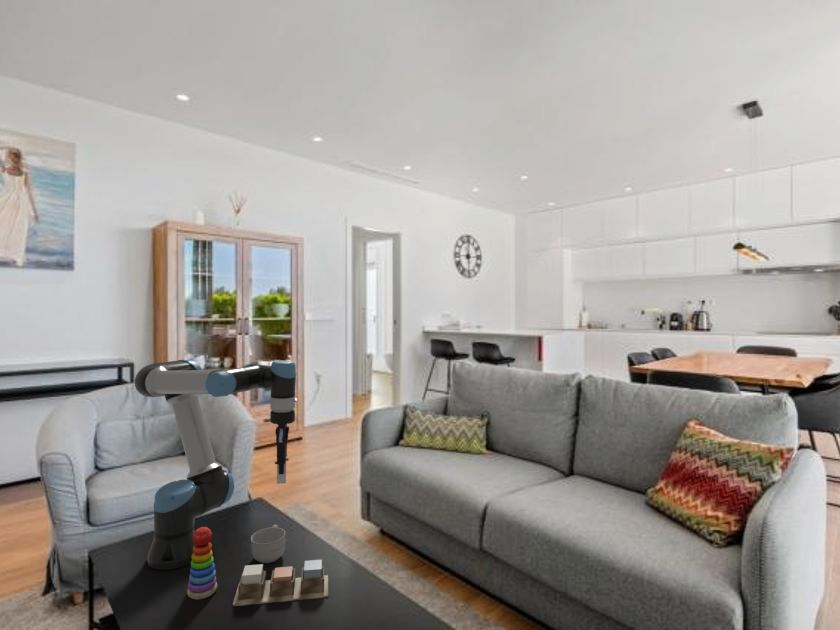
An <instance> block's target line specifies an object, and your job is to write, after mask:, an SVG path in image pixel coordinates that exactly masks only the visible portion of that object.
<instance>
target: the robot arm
mask: <svg viewBox="0 0 840 630" xmlns="http://www.w3.org/2000/svg"><path fill="white" fill-rule="evenodd" d="M296 380H297V371H296V363H295V361H293V360H285V359H283V360H274V361H272V362H271V365H265V364H259V363H246V364H245V365H244V366H242V367H238V368H230V369H203V368H202V366H201V365H200V364H199V363H198V362H196V361H194V360H192V359H179V360H178V359H176V360H172V361H165V362H154V363H150V364H148V365H145V366H144V367H142V368H140V369H139V371H138V372H137V373H136V375H135V377H134V387H135V389H136V391H137V393H139V394H140V395H142V396H144V397H146V398H159V397H164V399H165V401H166V403H167V404H170V405H171V406H172V410H173V414H174V416H175V420H176V424H177V429H178V432H179V437H180V439H181V443H182V446H183V450H184V453H185V458H186V461H187V466H188V469H189V471H188V474H187V475H186V479H178V480H174V481H171V482H169V483H166V484H164V485H162V486H161V487H160V488H159V489H158V490H157V491H156V492H155V495H154V502H153V511H154V513H153V516H154V517H153V518H154V519H153V539H152V542H151V545H150V547H149V551H148V552H147V553H148V554H147V565H148V566H149V568H151V569H154V570H158V571H159V570H161V571H167V570H174V569H178V568H181V567H184V566H186V565H189V564H191V561H192V554H193V553H194V552H193V547H194V546H195V545H196V544H195V543H194V542H193V534H194V532H195V531H196V530H195V519H196V518H198V517H200V516H202V515H205V514H206V513H209V512H211V511H212V510H214V509H217V508H221V507H222V505H225V504H226V503H228V502H229V501H230V500H231V498H232V496H233V494H234V492H235V481H234V477H233V475H232V473H230V471H228V470H227V469H223V466H222V464H221V463H219V462H217V461H216V458H215V454H214V450H213V447H212V444H211V440H210V439H211V438H210V437H209V432H208V429H207V425H206V422H205V418H204V414H203V411H202V406H201V404H200V400H199V397H200V395H211V397H214V398H221V397H227V396H230V395H233V394H234V395H235V394H238V393H243V392H248V391H252V390H253V391H254V390H257V389H263V390H268V391H269V390H270V397H269V399H270V400H269V401H270V402H269V403H270V404H269V406H270V411H269V412H270V414H269V416H270V418H269V419H270V420H269V422H270V423H271V424H274V425H277V426H276V428H275V432H274V433H275V434H274V435H275V441H276V442H275V443H276V461H274V465H276V484H277V485H278V484H279V485H280V484H281V485H282V484H283V485H284V484H286V483H287V462H289V461H290V460H289V459H290V458H288V457H287V456H288V441H289V433H290V426H288V424H292V423H294V422H295V421H296V411H295V408H296V406H295V405H296V403H297V402H298V398H296V383H297V381H296Z"/></svg>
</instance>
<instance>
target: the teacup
mask: <svg viewBox="0 0 840 630" xmlns="http://www.w3.org/2000/svg"><path fill="white" fill-rule="evenodd" d="M250 542H251V543H250V544H251V546H250V547H251V554H252V557H253V559H254V560H256V561H257V562H259V563H260V564H270V563H274V562H276V561H277V560H279V559H280V557H282V556H283V554H284V553H285V550H286V530H284V528H281V527H279V525H278V524H274V525H272V527H265V528H262V529H259V530H257V531H255V532H254V533H253V534H251V536H250Z"/></svg>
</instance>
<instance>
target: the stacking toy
mask: <svg viewBox="0 0 840 630" xmlns="http://www.w3.org/2000/svg"><path fill="white" fill-rule="evenodd" d="M194 531H195V532H194V534H193V542H194V543H195V544H196V545H195V546H194V547H193V552H194V553H193V554H192V561H191V563H190V569H189V573H190V574H189V576H188V577H189V579H188V580H189V581H188V583H187V590H186V593H187V596H188V597H189V598H190V599H192V600H202V599H206V598H208V597H210V596H212V595H213V594H214V593H215V592H216V591H217V590H218V583H217V572H216V564H215V563H214V562H215V559H214V558H215V557H214V556H213V550H212V549H213V544H212V543H211V540H212V537H213V533H212V531H211V529H210V527H207V526H202V527H198V528H197V529H196V530H194Z"/></svg>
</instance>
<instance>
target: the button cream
mask: <svg viewBox="0 0 840 630" xmlns="http://www.w3.org/2000/svg"><path fill="white" fill-rule="evenodd" d="M263 571H264V563H260V564H250V565H244V568H243V572H242V573H243V575H242V574H241V576H242V585H247V584H258V583H262V579H263Z"/></svg>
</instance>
